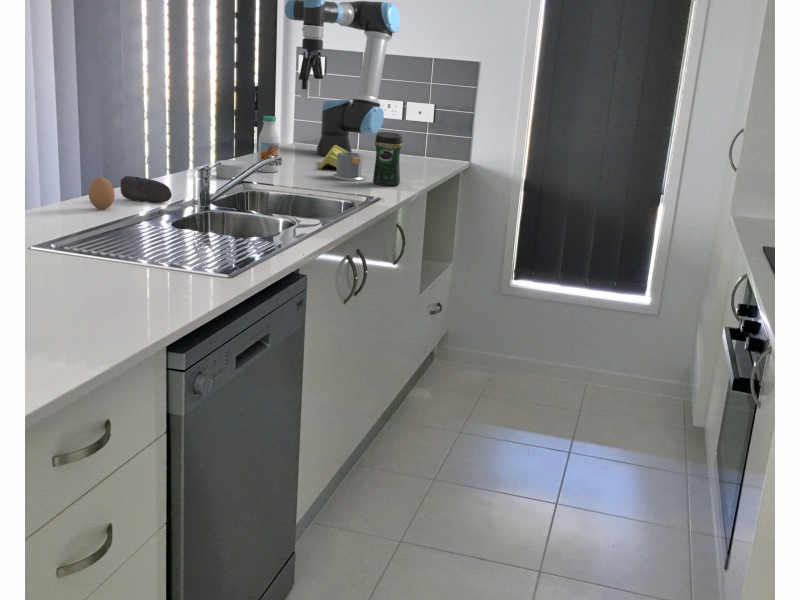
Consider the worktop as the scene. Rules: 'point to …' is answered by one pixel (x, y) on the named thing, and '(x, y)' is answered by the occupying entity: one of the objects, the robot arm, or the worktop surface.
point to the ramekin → (230, 168)
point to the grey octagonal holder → (349, 165)
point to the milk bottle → (268, 143)
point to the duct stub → (349, 178)
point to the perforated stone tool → (144, 189)
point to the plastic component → (332, 156)
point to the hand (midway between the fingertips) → (310, 97)
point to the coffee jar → (387, 159)
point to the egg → (101, 193)
